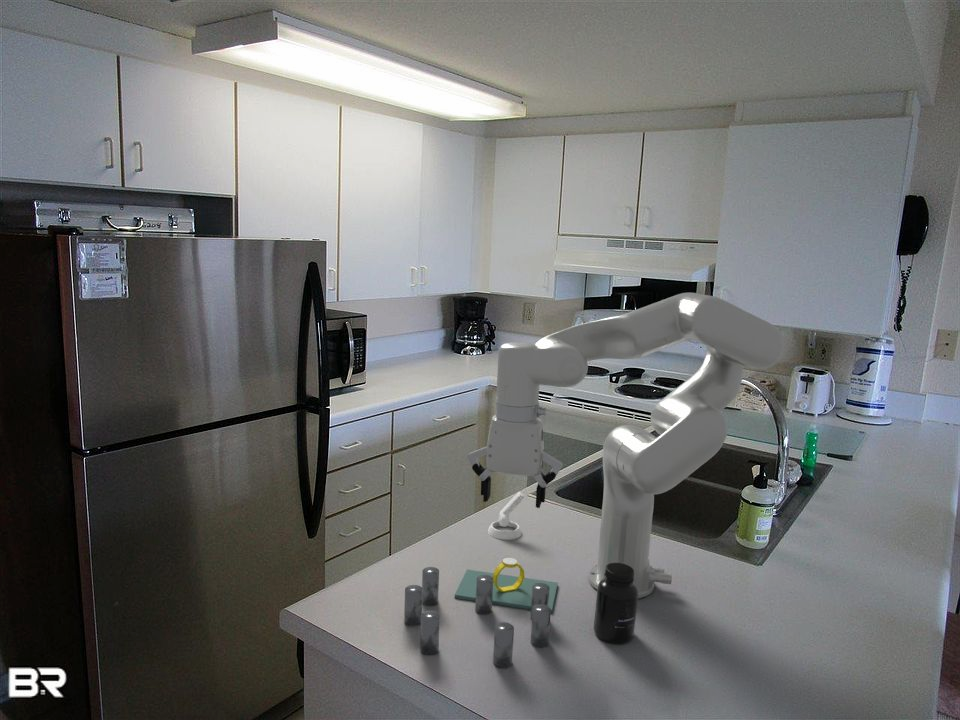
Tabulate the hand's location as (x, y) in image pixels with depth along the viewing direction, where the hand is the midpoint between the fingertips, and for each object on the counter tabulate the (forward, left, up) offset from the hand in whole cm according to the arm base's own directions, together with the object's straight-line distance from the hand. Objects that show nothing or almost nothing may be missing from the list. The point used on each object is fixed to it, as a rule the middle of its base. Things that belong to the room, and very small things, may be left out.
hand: (512, 502), depth 125 cm
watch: (0, 0, -18) cm, 18 cm away
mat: (0, 0, -18) cm, 18 cm away
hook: (+5, -26, -18) cm, 32 cm away
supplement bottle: (-20, +8, -18) cm, 28 cm away
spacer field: (+3, +14, -18) cm, 23 cm away
